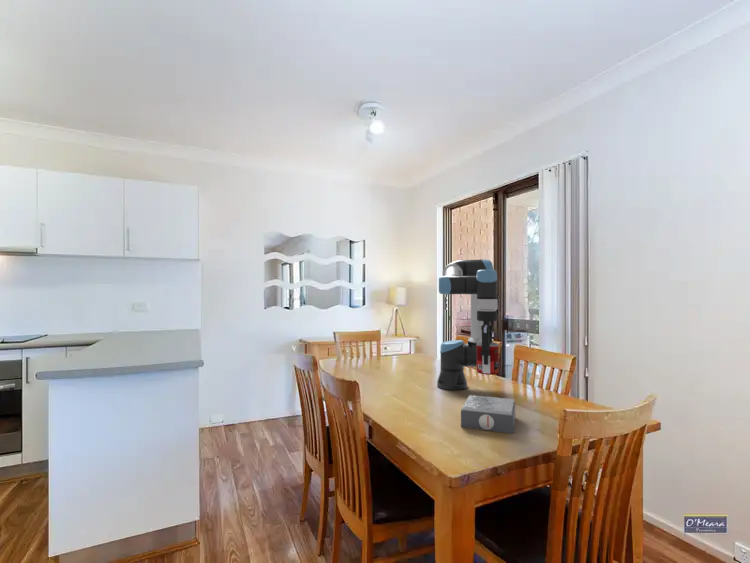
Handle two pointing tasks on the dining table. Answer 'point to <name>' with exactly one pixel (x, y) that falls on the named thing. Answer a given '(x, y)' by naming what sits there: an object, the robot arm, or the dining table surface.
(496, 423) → the scale base
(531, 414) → the dining table surface
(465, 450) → the dining table surface
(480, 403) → the scale pan
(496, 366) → the canned food
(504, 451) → the dining table surface
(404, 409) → the dining table surface
